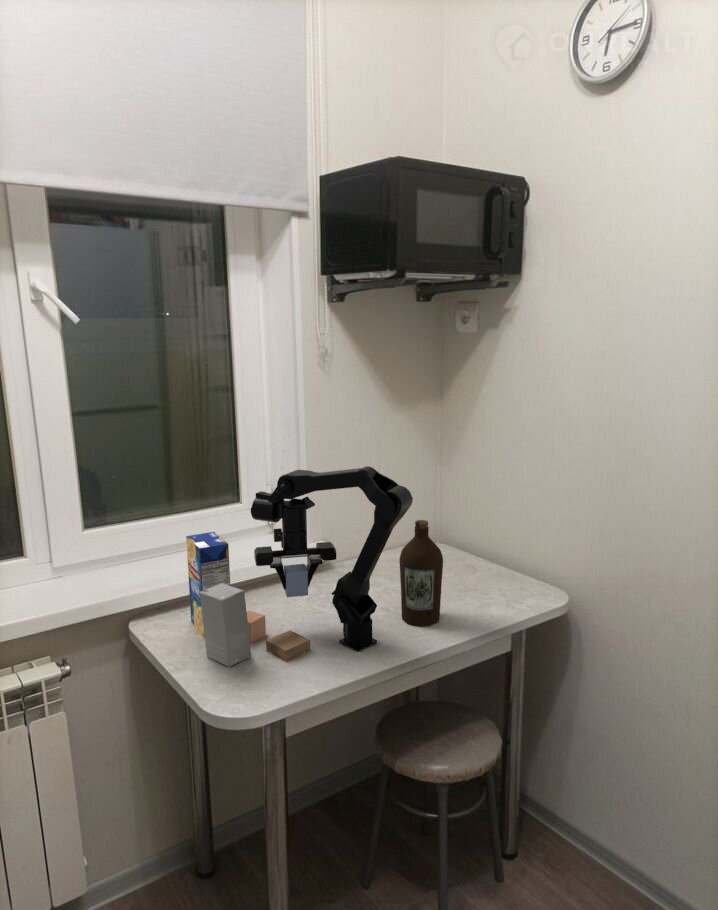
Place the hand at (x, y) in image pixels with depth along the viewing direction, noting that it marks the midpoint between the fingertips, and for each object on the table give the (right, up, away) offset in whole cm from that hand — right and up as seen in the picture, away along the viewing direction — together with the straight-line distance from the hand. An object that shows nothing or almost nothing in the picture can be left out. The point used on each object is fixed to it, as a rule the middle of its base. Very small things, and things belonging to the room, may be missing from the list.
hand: (296, 588), depth 162 cm
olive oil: (+30, -9, +8) cm, 32 cm away
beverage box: (-21, -10, +4) cm, 24 cm away
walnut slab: (-1, -13, -8) cm, 15 cm away
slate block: (0, -1, 0) cm, 1 cm away
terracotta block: (-11, -11, -1) cm, 16 cm away
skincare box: (-14, -13, -11) cm, 22 cm away
